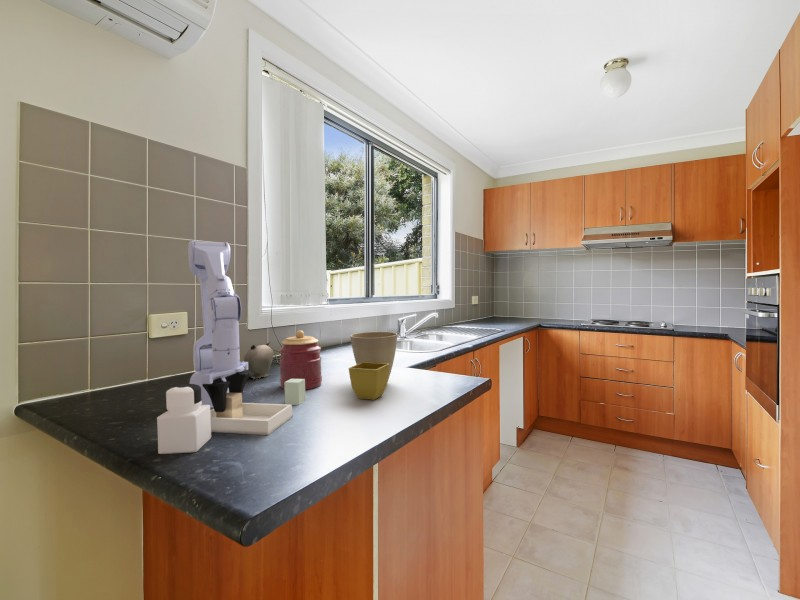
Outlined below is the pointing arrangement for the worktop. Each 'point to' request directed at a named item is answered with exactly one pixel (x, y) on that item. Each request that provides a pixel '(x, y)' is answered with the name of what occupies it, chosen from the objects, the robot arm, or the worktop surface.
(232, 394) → the maple block
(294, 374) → the canister
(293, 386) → the sage block
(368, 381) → the flower pot
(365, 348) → the plant pot
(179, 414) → the medicine bottle
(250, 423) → the serving tray
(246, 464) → the worktop surface
